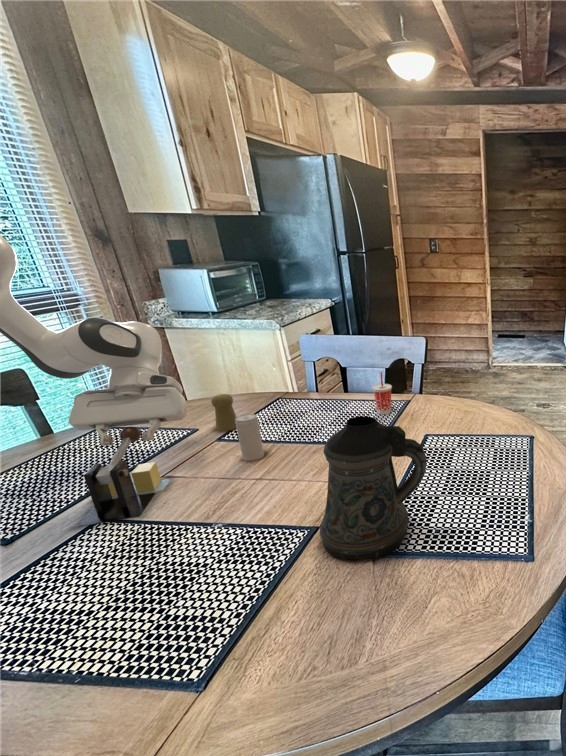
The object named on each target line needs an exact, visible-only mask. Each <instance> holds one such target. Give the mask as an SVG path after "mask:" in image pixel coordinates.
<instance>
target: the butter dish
mask: <svg viewBox="0 0 566 756" xmlns="http://www.w3.org/2000/svg"><path fill="white" fill-rule="evenodd" d="M170 481H171V478H165V479H161V482H160V484H159V485H158V486H157V488H156V489H155V490H152V491H146V492H139V493H137V490H136V487H135V484H134V483H133V485H134V489H135V492H136V495H142V494H148V493H155V492H161V491H164V489H165V488H166V487H167V485H168V483H170ZM112 498H113V499H116V498H118V496H112Z"/></svg>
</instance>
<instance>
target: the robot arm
mask: <svg viewBox="0 0 566 756" xmlns="http://www.w3.org/2000/svg"><path fill="white" fill-rule="evenodd" d="M17 267H18V257H17V254H16V250H15V248H14V247H13V246H12V245H11V244H10V243H9V242H8V240H7V239H6V238H4V236H2V235H1V234H0V334H2V335H3V336H4V337H5V338H6V339H8V340H9V341H11V342H12V343H13V344H14V345H15V346H17V347H18V348H19V349H20V350H21V351H22V352H23V353H24V354H25V355H26V356H27V357H28V358H29V360H30V361H31V362H32V363H33V364H34V366H36V367H37V368H38V369H39V370H40V371H42V372H43V373H45V374H47V375H49V376H51V377H55V378H58V379H76V378H77V379H78V378H79V377H82V376H84V375H85V374H87V373H89V372H90V371H92V370H94V369H96V368H98V367H101V366H104V367H108V368H109V374H108V384H107V388H99V389H86V390H84V391H82V392H80V393H78V394H76V395H75V396H74V400H73V406H72V408H71V411H70V414H69V416H68V424H69V425H70V426H71V427H73V428H74V429H76V430H78V431H89V430H91V431H92V430H95V431H96V432H97V434H98V436H100V440H99V441H100V442H99V443H100V445H101V446H104V447H106V446H113V445H114V440H115V438H114V437H113V436H111V435H109V434H108V433H109V431H110V428H119V427H130V426H137V425H150V426H149V427H148V429H147V430H145V431H142V432H141V439H142V441H144V442H149V441H150V442H151V441H153V440H154V438H155V437H154V436H155V433H156V432H157V431H158V430H159V429H160V428H161V426H162V423H167V422H177V421H182V420H184V418H186V416H187V402H186V401H187V400H186V398H185V397H184V395H183V391H184V389H183V387H182V385H181V384H180V383H179V381H177V380H176V379H175V378H174V377H173V376H168V375H164V374H163V375H162V374H160V372H159V366H160V365H161V363H162V355H163V354H162V353H163V344H162V338H161V336H160V333H159V331H157V329H156V328H155V327H153V326H151V325H149V324H148V323H144V322H140V321H127V322H115V321H112V320H110V319H107V318H105V317H104V318H103V317H96V316H95V317H89V318H86V319H83V320H81V321H78V322H76V323H74V324H72V325H70V326H68V327H66V328H64V329H62V330H60V331H57V330H56V331H55V330H53V329H50V328H48V327H47V326H46V325H45V324H44V323H42V322H41V321H40V320H39V319H37V318H36V317H35V316H34V315H33V314H32V313H31V312H29V311H28V310H27V309H26V308H24V306H22V304H20V303H19V302H18V301H17V300H16V298H15V297H14V296H13V294H12V290H11V284H12V280H13V278H14V276H15V274H16V271H17Z"/></svg>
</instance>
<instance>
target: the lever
mask: <svg viewBox="0 0 566 756" xmlns="http://www.w3.org/2000/svg"><path fill="white" fill-rule="evenodd" d="M140 438H142V432H141V430H140V429H139V428H138V427H136V426H125V427H124V428H123V429H121V430H120V432H119V439H120V440H121V442H120V444H119V446H118V447H117V450H116V451H115V453H114V455H113V457H112V458H111V459H110V462H109V463H108V465H106V466H102V467H101V468H100V470H99V472H98V474H97V475H96V478H97V480H98V482H99V483H100V485H105V484H112V483H113V480H112V477H111V474H110V471H111V470H112V469H113V467H114V466H115V465H116V464H117V463H118V462H119V461H122V458H124V455H125V454H126V451H127V450H128V448H129V446H130V444H132V443H135V442H137V441H138V440H139V439H140Z"/></svg>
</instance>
